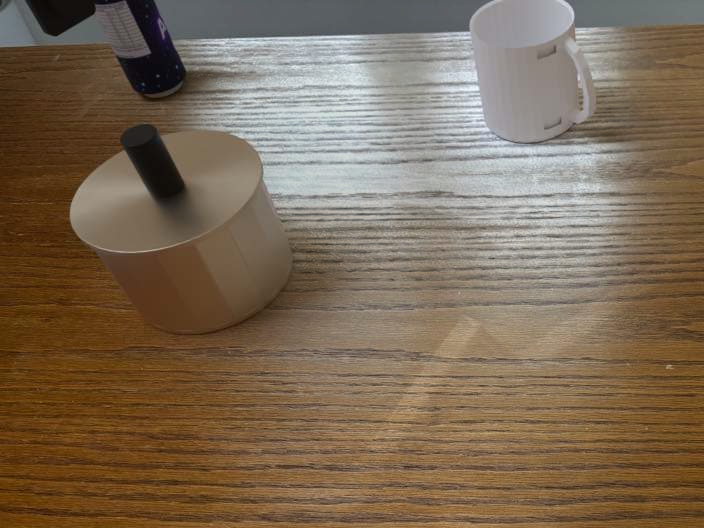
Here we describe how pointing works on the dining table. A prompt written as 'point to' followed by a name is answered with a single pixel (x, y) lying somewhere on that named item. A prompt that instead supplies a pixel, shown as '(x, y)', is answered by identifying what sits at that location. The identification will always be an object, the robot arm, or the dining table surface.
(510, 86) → the mug
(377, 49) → the dining table surface
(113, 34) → the beverage can
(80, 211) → the lid
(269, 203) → the pot
